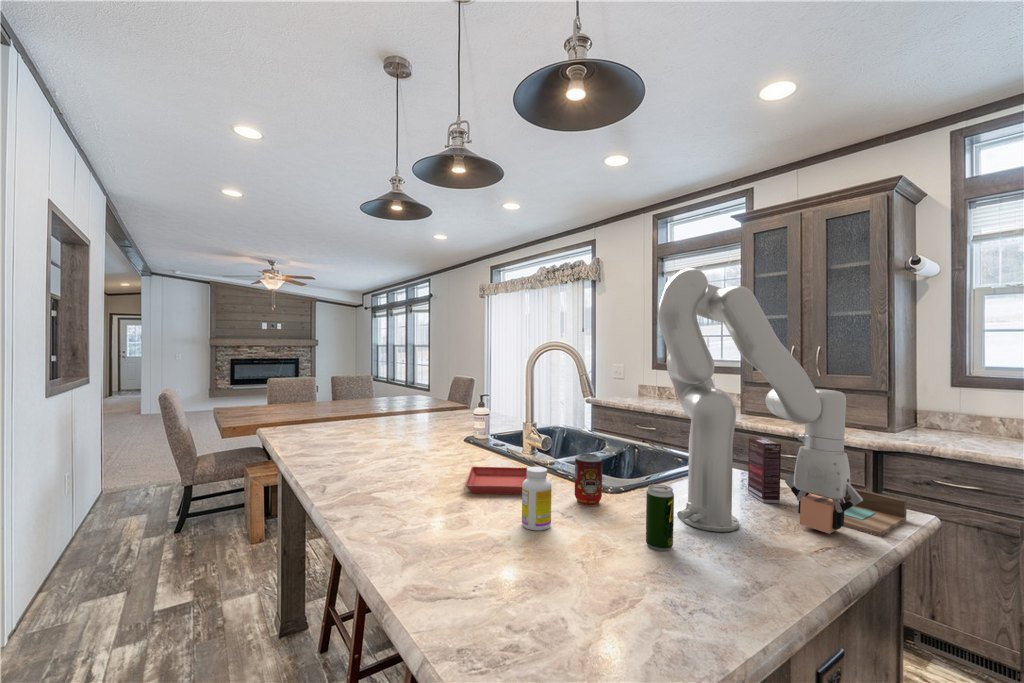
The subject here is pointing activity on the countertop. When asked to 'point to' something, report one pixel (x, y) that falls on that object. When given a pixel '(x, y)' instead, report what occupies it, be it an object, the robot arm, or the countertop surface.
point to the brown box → (817, 513)
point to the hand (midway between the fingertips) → (820, 522)
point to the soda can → (588, 479)
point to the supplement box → (764, 469)
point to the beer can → (659, 517)
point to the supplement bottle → (536, 499)
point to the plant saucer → (496, 480)
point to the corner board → (875, 513)
